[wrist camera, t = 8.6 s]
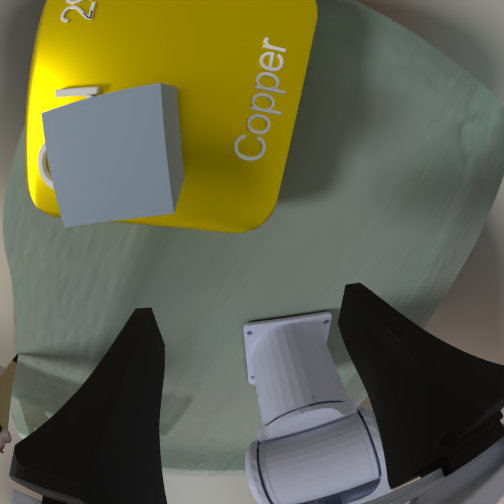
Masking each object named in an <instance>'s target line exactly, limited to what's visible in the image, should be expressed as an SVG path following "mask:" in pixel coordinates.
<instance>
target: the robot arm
mask: <svg viewBox="0 0 504 504" xmlns="http://www.w3.org/2000/svg"><path fill="white" fill-rule="evenodd" d="M331 319H332V315H331V313H330V312H321V313H315V314H308V315H302V316H295V317H288V318H281V319H274V320H266V321H258V322H250V323H246V324H245V325H244V338H245V349H246V359H247V370H248V380H249V383H250V384H256V390H257V396H258V401H259V407H260V413H261V418H262V424H263V427H261V428H258V429H257V431H258V437H259V440H255V441H253V442H252V443H251V444H250V447H249V449H248V450H247V452H246V456H245V468H246V475H247V480H248V483H249V486H250V489H251V492H252V494H253V496H254V498H255V500H256V501H257V502H258V503H259V504H404V503H406V502H408V501H410V500H411V501H410V502H409V504H497V503H498V501H499V500H500V499H501V498H502V497H503V496H504V424H502V423H501V421H500V419H502V418H503V414H502V412H501V411H500V410H501V409H502V408H503V407H504V365H500V364H496V363H493V362H489V361H486V360H484V359H481V358H478V357H476V356H473V355H470V354H468V353H466V352H464V351H462V350H459V349H457V348H455V347H453V346H451V345H449V344H447V343H445V342H444V341H442V340H440V339H438V338H437V337H435V336H433V335H432V334H430V333H428V332H426V331H425V330H424V329H422V328H421V327H419V326H418V325H416V324H415V323H413V322H412V321H410V320H409V319H408V318H406V317H405V316H403V315H402V314H401V313H399V312H398V311H397V310H395V309H394V308H393V307H391V306H390V305H389V304H387V303H386V302H385V301H384V300H382V299H381V298H380V297H378V296H377V295H376V294H374V293H373V292H372V291H371V290H369V289H368V288H367V287H365V286H364V285H362V284H361V283H354V284H348V285H345V290H344V295H343V300H342V305H341V310H340V315H339V319H338V325H339V329H340V332H341V335H342V338H343V341H344V344H345V346H346V348H347V351H348V353H349V355H350V357H351V359H352V361H353V363H354V365H355V367H356V370H357V372H358V374H359V376H360V378H361V380H362V382H363V384H364V387H365V389H366V391H367V394H368V396H369V399H370V402H371V405H372V408H373V411H372V410H370V409H367V408H366V407H361V408H359V409H356V407H355V404H354V401H353V399H350V400H349V399H348V396H347V394H346V391H345V389H344V386H343V383H342V381H341V378H340V376H339V374H338V371H337V369H336V366H335V364H334V361H333V359H332V356H331V354H330V351H329V349H328V347H327V340H328V335H329V330H330V324H331ZM325 320H326V321H325ZM249 331H251V332H249ZM164 370H165V344H164V341H163V339H162V336H161V333H160V331H159V328H158V325H157V322H156V320H155V317H154V314H153V311H152V308H138V309H135V310H134V312H133V313H132V315H131V316H130V318H129V319H128V321H127V322H126V324H125V326H124V327H123V329H122V330H121V332H120V333H119V335H118V336H117V338H116V339H115V341H114V342H113V344H112V345H111V347H110V348H109V350H108V352H107V353H106V354H105V356H104V357H103V359H102V360H101V361H100V363H99V364H98V366H97V367H96V368H95V370H94V371H93V372H92V374H91V375H90V376H89V378H88V379H87V380H86V381H85V383H84V384H83V385H82V386H81V387H80V388H79V390H78V391H77V392H76V393H75V394H74V395H73V396H72V397H71V398H70V399H69V400H68V401H67V402H66V403H65V404H64V406H63V407H62V408H61V409H60V410H59V411H58V412H57V413H55V414H54V415H53V416H52V417H51V418H50V419H49V420H48V421H46V422H45V423H44V424H43V425H42V426H41V427H39V428H38V429H37V430H36V431H34V432H33V433H31V434H30V435H29V436H27V437H26V438H24V439H23V440H22V441H20V442H19V443H17V444H16V445H15V447H14V452H13V457H12V462H11V468H10V473H9V476H10V478H11V479H12V480H14V481H15V482H17V483H19V484H21V485H23V486H24V487H26V488H28V489H30V490H32V491H34V492H36V493H39V494H41V495H43V498H42V501H40V500H38V499H36V498H33V497H31V496H28V495H26V494H23V493H21V492H19V491H17V490H15V489H13V490H12V497H11V504H167V500H166V495H165V489H164V483H163V475H162V466H161V455H160V437H159V419H160V408H161V398H162V389H163V379H164ZM418 477H421V479H419V480H417V481H415V482H412V483H411V484H408V485H406V486H404V487H402V488H400V489H398V490H394V488H396V487H398V486H401V485H403V484H405V483H407V482H409V481H411V480H413V479H415V478H418Z"/></svg>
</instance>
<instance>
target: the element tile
mask: <svg viewBox="0 0 504 504" xmlns="http://www.w3.org/2000/svg"><path fill="white" fill-rule="evenodd" d="M317 17H318V7H317V4H316V0H47V1H46V3H45V5H44V8H43V11H42V15H41V19H40V23H39V27H38V31H37V35H36V41H35V45H34V50H33V56H32V62H31V68H30V76H29V83H28V94H27V105H26V124H25V159H26V179H27V186H28V191H29V194H30V196H31V198H32V201H33V203H34V204H35V205H36V206H37V207H38V209H39V210H41V211H42V212H44V213H46V214H48V215H50V216H53V217H61V214H60V211H59V207H58V203H57V199H56V195H55V191H54V187H53V182H52V178H51V173H50V168H49V163H48V158H47V152H46V146H45V140H44V133H43V126H42V118H41V113H43V112H45V111H48V110H51V109H54V108H57V107H60V106H63V105H66V104H70V103H73V102H76V101H80V100H83V99H87V98H91V97H94V96H98V95H102V94H106V93H110V92H115V91H119V90H124V89H129V88H134V87H139V86H145V85H151V84H157V83H163V84H167V85H170V86H174V87H177V92H178V108H179V122H180V134H181V146H182V157H183V167H184V177H185V178H184V181H183V185H182V188H181V191H180V195H179V198H178V202H177V205H176V209H175V212H174V214H166V215H157V216H148V217H139V218H131V219H123V220H115V221H110V222H122V223H133V224H144V225H155V226H165V227H176V228H186V229H196V230H206V231H216V232H226V233H243V232H247V231H251V230H255V229H256V228H258V227H259V226H261V225H262V224H264V223H265V222H266V221H267V219H268V218H269V217H270V215H271V214H272V212H273V210H274V208H275V205H276V203H277V199H278V195H279V190H280V186H281V182H282V177H283V173H284V169H285V164H286V160H287V155H288V151H289V147H290V142H291V138H292V133H293V129H294V124H295V120H296V115H297V111H298V106H299V102H300V97H301V92H302V88H303V83H304V79H305V74H306V69H307V65H308V60H309V55H310V50H311V46H312V41H313V36H314V31H315V26H316V22H317Z"/></svg>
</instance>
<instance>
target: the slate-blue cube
mask: <svg viewBox="0 0 504 504" xmlns="http://www.w3.org/2000/svg"><path fill="white" fill-rule="evenodd" d="M41 118H42V126H43V133H44V140H45V146H46V152H47V158H48V163H49V168H50V173H51V178H52V182H53V187H54V191H55V195H56V199H57V203H58V207H59V211H60V214H61V218H62V221H63V225H64V228H66V227H73V226H79V225H86V224H93V223H100V222H108V221H115V220H123V219H131V218H139V217H148V216H157V215H166V214H174V212H175V209H176V205H177V202H178V198H179V195H180V191H181V188H182V185H183V181H184V178H185V177H184V167H183V157H182V146H181V134H180V122H179V108H178V92H177V87H174V86H170V85H167V84H163V83H157V84H151V85H145V86H139V87H134V88H129V89H124V90H119V91H115V92H110V93H106V94H102V95H98V96H94V97H91V98H87V99H83V100H80V101H76V102H73V103H70V104H66V105H63V106H60V107H57V108H54V109H51V110H48V111H45V112H43V113H41Z"/></svg>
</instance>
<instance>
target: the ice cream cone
mask: <svg viewBox="0 0 504 504" xmlns="http://www.w3.org/2000/svg"><path fill="white" fill-rule="evenodd" d="M17 358H18V354H17V355H16V356H15V358H14V359H13V360H12V361H11V363H10V364H9V365H8V366H7V368H6V369H5V370H4V371H3V373H2V374H1V375H0V452H1V453H4V452H3V451H2V450H3V448H4V447H5V444H6V443H10V442H11V435H10V433H9V431H8V421H9V410H10V401H11V393H12V386H13V380H14V374H15V368H16V363H17Z"/></svg>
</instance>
